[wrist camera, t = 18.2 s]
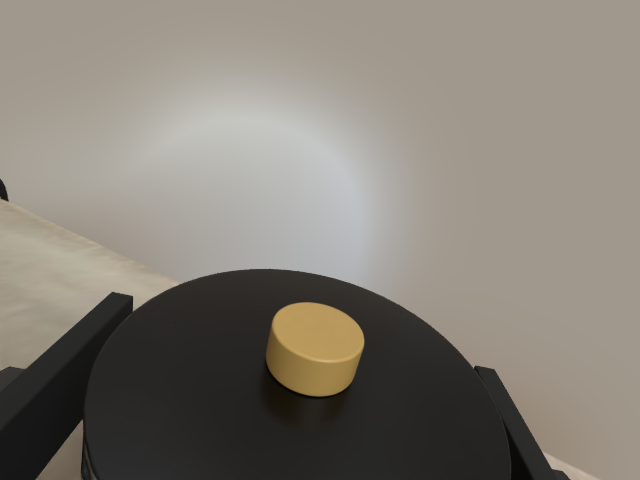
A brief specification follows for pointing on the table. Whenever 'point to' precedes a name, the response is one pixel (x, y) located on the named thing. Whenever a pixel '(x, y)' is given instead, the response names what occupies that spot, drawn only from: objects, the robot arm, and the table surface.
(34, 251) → the table surface
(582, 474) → the table surface
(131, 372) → the black lidded canister
